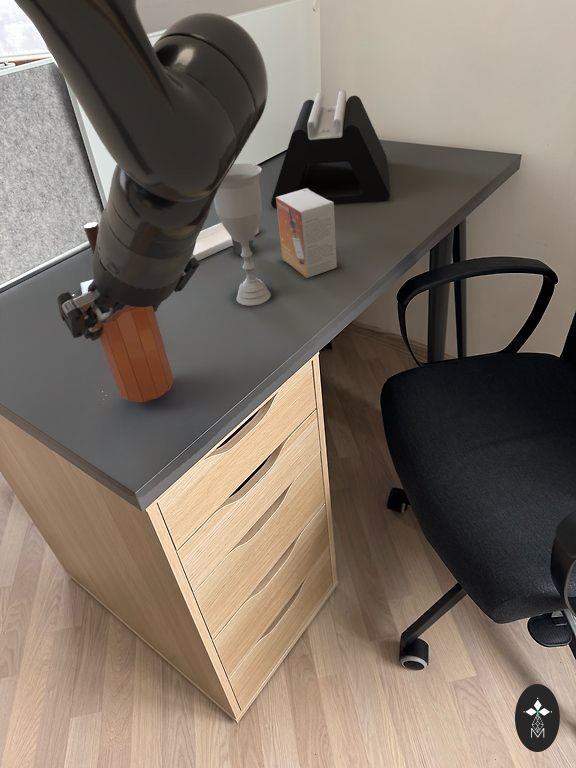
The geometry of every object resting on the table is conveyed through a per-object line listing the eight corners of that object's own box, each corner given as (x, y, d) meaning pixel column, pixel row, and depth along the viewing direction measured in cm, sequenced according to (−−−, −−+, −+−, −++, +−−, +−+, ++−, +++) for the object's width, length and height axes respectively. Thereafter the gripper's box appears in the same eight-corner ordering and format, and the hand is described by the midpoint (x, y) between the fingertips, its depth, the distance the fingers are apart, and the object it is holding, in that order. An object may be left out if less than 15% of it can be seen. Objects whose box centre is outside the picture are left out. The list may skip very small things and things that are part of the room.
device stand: (386, 162, 124) (386, 86, 115) (389, 200, 106) (389, 114, 97) (285, 169, 127) (277, 96, 118) (271, 208, 110) (261, 126, 101)
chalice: (221, 306, 82) (196, 181, 71) (238, 284, 87) (217, 163, 76) (269, 310, 80) (250, 181, 69) (284, 286, 85) (268, 163, 73)
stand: (87, 317, 84) (60, 244, 77) (82, 291, 91) (57, 222, 83) (147, 300, 86) (126, 228, 79) (138, 276, 93) (118, 208, 85)
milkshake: (225, 260, 94) (213, 201, 88) (235, 246, 98) (225, 188, 92) (251, 260, 93) (241, 200, 86) (260, 246, 97) (251, 187, 90)
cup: (123, 408, 63) (89, 315, 56) (116, 378, 68) (84, 288, 60) (178, 391, 64) (151, 298, 57) (167, 363, 69) (142, 274, 62)
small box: (282, 260, 91) (274, 196, 85) (312, 250, 93) (306, 186, 87) (306, 279, 86) (299, 211, 79) (338, 268, 87) (334, 201, 81)
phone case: (191, 264, 94) (260, 232, 101) (190, 256, 93) (259, 225, 100) (168, 252, 99) (235, 223, 106) (166, 245, 98) (234, 216, 105)
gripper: (192, 182, 51) (158, 265, 65) (37, 237, 44) (38, 316, 59) (237, 253, 50) (192, 320, 65) (88, 319, 44) (76, 378, 59)
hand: (119, 318), depth 62 cm, fingers closed on cup, 6 cm apart
